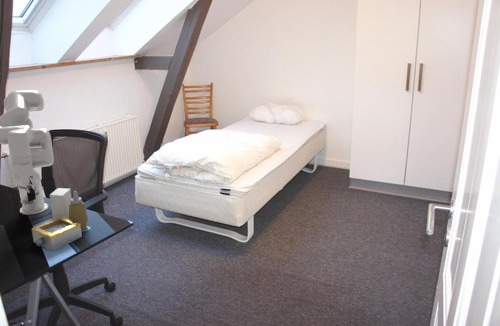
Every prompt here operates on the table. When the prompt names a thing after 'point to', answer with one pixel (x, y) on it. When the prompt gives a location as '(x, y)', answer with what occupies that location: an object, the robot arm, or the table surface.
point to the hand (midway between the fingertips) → (27, 198)
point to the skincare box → (60, 202)
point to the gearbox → (56, 233)
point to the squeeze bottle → (78, 210)
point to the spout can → (25, 195)
